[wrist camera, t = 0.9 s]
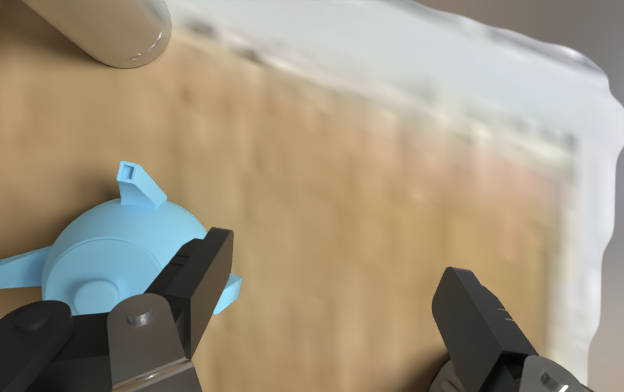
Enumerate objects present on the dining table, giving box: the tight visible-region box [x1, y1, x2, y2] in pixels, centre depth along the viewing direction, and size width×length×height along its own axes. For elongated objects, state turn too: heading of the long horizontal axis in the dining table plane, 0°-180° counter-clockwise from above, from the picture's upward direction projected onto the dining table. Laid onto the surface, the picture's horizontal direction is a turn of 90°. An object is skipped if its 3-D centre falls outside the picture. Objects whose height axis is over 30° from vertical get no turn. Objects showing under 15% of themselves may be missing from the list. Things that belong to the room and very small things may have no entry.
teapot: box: [0, 161, 242, 316], centre depth 26 cm, size 15×15×11 cm
